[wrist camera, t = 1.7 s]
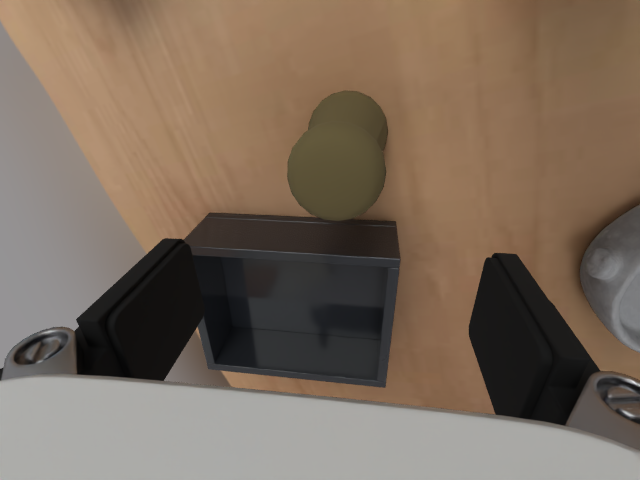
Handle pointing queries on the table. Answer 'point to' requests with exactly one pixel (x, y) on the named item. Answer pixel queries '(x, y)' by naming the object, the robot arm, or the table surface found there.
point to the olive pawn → (340, 157)
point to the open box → (297, 295)
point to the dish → (616, 277)
